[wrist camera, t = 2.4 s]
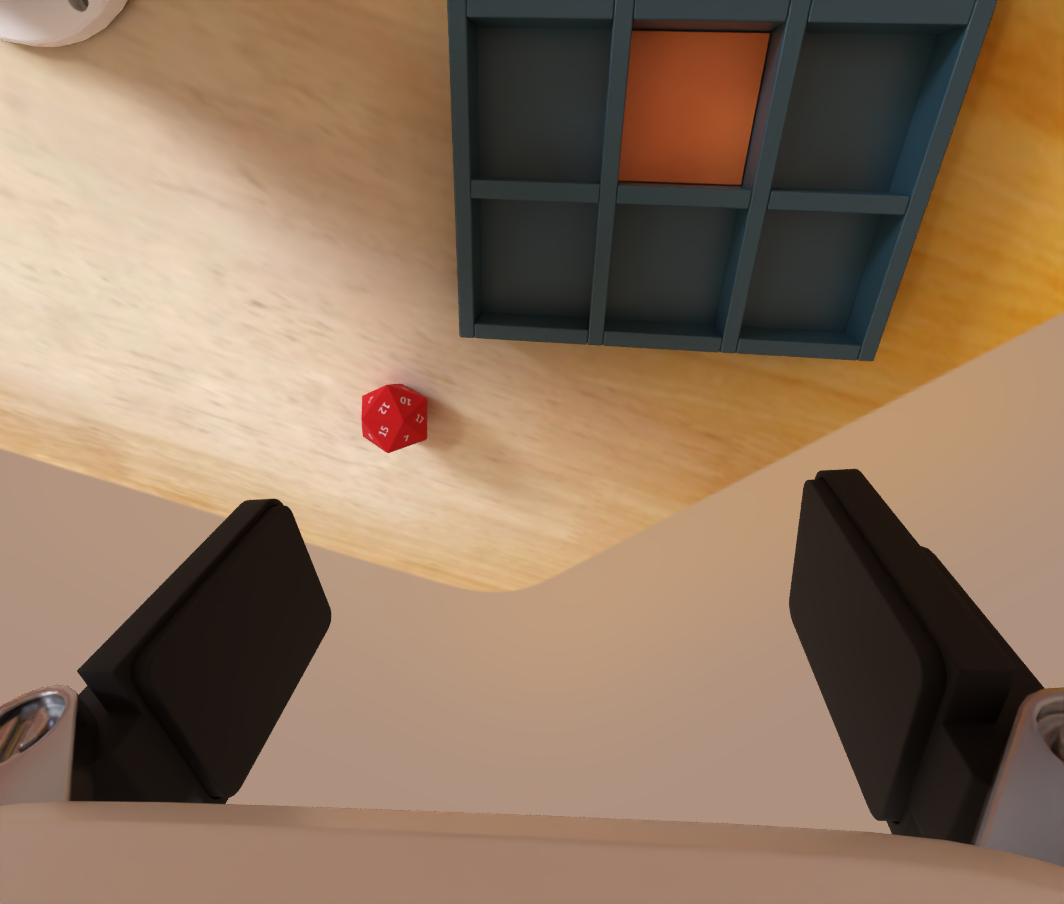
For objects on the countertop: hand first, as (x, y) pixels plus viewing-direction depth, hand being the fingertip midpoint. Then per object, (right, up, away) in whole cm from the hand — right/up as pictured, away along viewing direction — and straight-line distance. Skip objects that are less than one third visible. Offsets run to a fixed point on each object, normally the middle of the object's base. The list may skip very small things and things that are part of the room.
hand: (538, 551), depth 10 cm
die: (-7, +4, +20) cm, 22 cm away
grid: (+6, +16, +12) cm, 21 cm away
